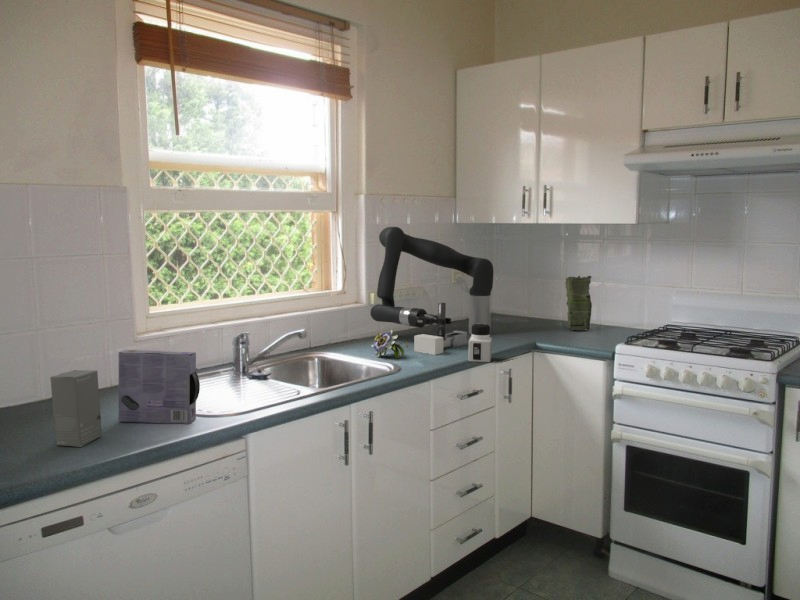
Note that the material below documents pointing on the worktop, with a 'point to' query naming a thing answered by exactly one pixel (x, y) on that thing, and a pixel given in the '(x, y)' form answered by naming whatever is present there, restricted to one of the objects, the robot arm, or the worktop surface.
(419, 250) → the robot arm
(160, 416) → the cake pan box
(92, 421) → the skincare box
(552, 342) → the worktop surface
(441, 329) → the tube
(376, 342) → the passion flower
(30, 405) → the worktop surface
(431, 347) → the socket block
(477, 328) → the container
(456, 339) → the sleeve
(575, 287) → the pouch
